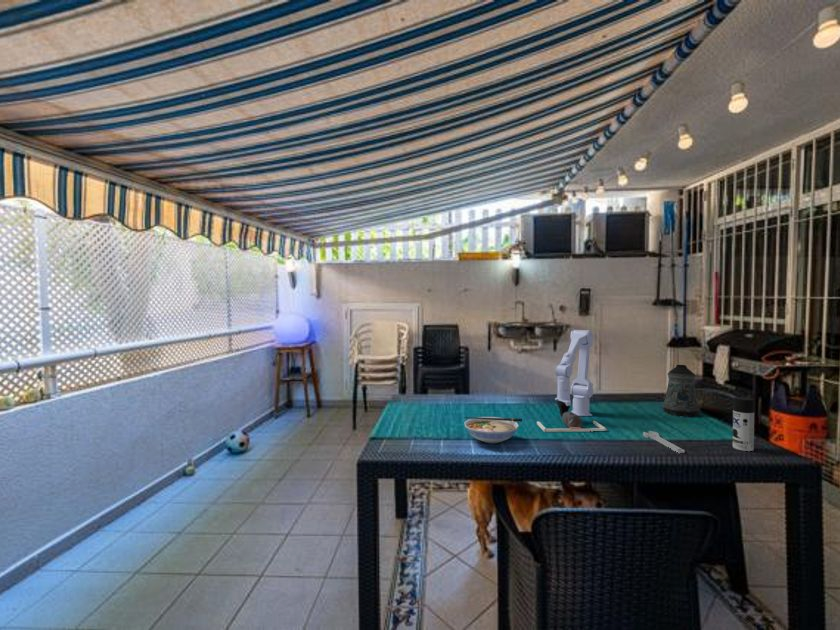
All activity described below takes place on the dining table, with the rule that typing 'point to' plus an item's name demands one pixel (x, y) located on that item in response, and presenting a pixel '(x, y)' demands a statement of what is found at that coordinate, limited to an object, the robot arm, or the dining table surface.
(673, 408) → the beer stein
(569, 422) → the perforated stone tool
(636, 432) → the dining table surface
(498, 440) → the ramen bowl
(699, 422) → the dining table surface
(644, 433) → the adjustable wrench
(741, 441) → the spray can
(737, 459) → the dining table surface
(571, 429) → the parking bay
